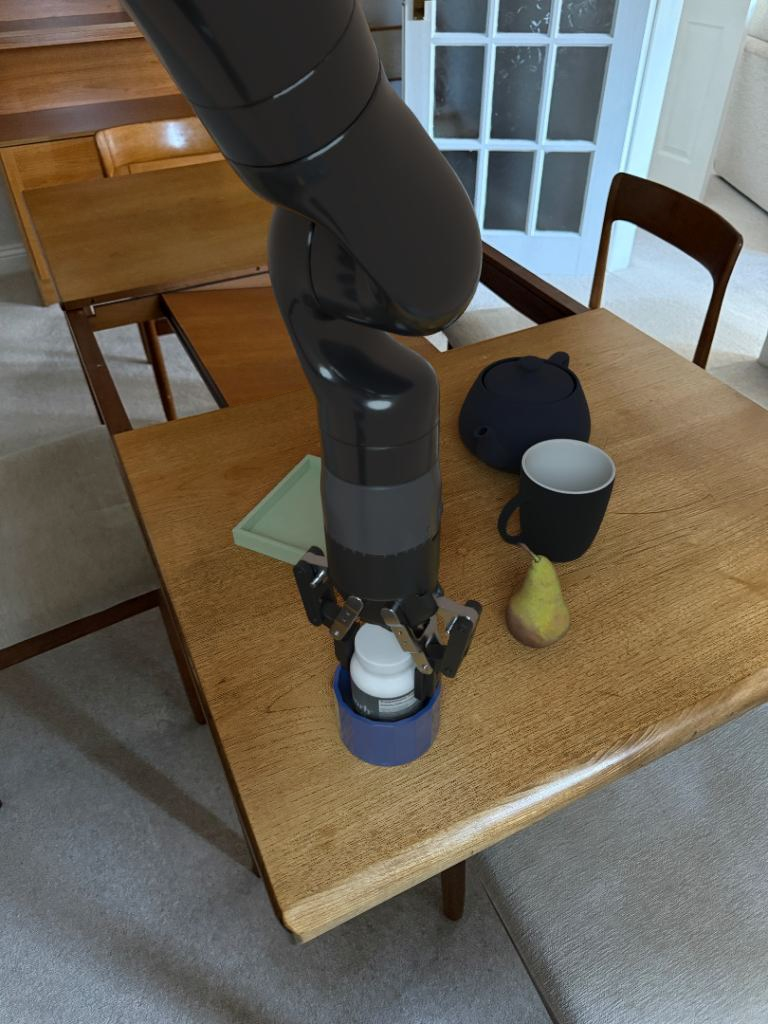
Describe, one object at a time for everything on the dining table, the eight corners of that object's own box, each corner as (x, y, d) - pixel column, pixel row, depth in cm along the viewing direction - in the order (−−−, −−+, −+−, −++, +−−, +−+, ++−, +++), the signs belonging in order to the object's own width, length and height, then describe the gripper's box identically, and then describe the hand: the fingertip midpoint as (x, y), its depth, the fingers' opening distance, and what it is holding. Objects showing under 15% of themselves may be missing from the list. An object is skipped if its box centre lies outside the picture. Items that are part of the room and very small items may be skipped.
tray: (360, 588, 73) (359, 574, 72) (234, 544, 79) (231, 530, 77) (424, 501, 84) (424, 487, 82) (309, 467, 89) (307, 453, 88)
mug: (563, 505, 82) (576, 429, 76) (617, 554, 76) (636, 475, 70) (471, 540, 78) (476, 462, 72) (520, 594, 72) (531, 514, 66)
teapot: (503, 390, 102) (511, 306, 94) (614, 422, 95) (632, 334, 87) (410, 487, 86) (410, 395, 78) (536, 532, 79) (549, 437, 71)
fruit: (553, 670, 65) (572, 572, 57) (493, 644, 67) (503, 547, 60) (575, 628, 69) (596, 531, 61) (518, 605, 71) (530, 509, 63)
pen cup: (412, 783, 57) (412, 743, 54) (319, 741, 60) (313, 700, 57) (455, 701, 63) (457, 660, 59) (367, 666, 66) (365, 625, 62)
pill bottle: (345, 701, 63) (337, 621, 56) (408, 681, 64) (408, 602, 58) (366, 758, 58) (361, 679, 52) (433, 736, 60) (436, 657, 53)
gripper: (253, 513, 47) (283, 679, 58) (464, 583, 42) (454, 751, 52) (315, 451, 52) (331, 614, 63) (510, 507, 47) (491, 674, 58)
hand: (387, 676), depth 58 cm, fingers closed on pill bottle, 5 cm apart
